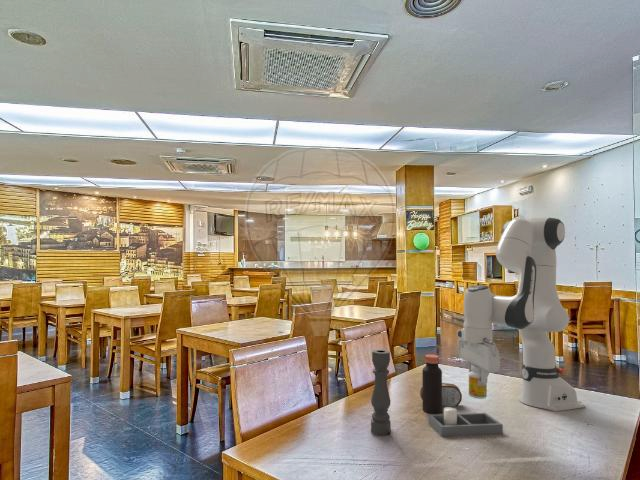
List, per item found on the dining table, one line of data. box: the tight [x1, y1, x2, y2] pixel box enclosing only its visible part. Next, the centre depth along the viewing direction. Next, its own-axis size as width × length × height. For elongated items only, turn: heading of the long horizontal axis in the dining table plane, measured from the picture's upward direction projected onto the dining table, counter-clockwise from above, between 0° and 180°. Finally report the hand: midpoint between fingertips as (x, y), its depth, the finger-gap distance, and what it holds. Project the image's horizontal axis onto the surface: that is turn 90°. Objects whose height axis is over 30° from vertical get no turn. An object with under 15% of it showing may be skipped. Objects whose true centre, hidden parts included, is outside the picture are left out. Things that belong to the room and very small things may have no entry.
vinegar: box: [421, 354, 443, 415], centre depth 145 cm, size 7×7×20 cm
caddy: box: [427, 412, 504, 437], centre depth 129 cm, size 20×10×4 cm, turn 98°
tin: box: [419, 382, 463, 407], centre depth 152 cm, size 15×3×8 cm, turn 84°
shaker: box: [443, 406, 458, 426], centre depth 129 cm, size 4×4×6 cm
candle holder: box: [370, 349, 392, 437], centre depth 128 cm, size 6×6×25 cm
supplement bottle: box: [468, 364, 488, 400], centre depth 131 cm, size 5×5×10 cm
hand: (477, 379), depth 131 cm, fingers closed on supplement bottle, 5 cm apart
